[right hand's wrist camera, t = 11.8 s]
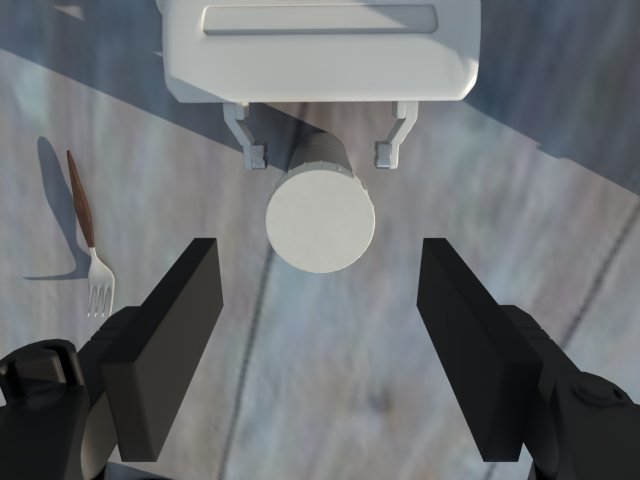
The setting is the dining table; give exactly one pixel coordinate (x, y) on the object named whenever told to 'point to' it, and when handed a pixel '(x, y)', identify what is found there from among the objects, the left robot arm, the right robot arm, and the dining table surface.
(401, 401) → the dining table surface
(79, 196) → the fork
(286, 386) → the dining table surface
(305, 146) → the grey cylinder
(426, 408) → the dining table surface
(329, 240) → the lid
